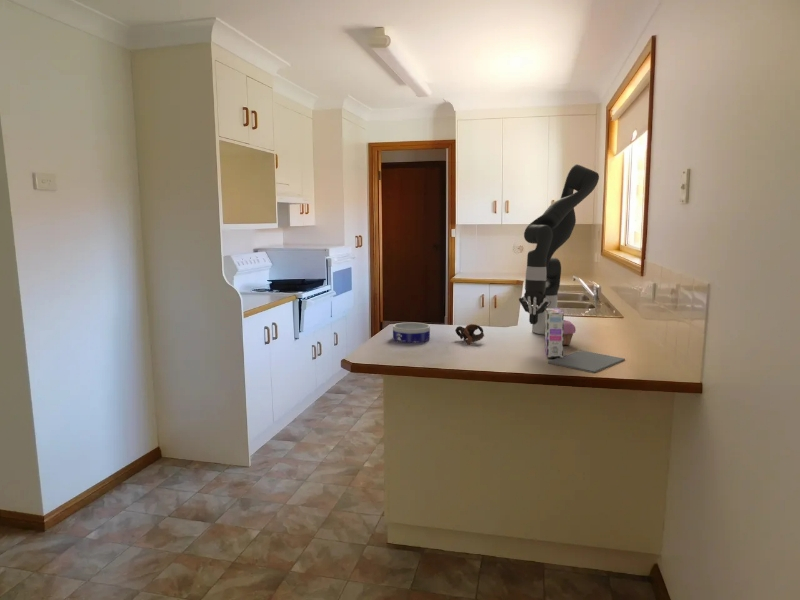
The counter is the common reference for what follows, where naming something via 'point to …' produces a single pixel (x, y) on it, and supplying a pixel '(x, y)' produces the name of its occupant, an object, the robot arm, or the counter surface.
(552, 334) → the candy box
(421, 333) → the dog bowl
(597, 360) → the mat
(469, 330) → the brown curled figurine
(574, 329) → the cupcake
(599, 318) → the counter surface
